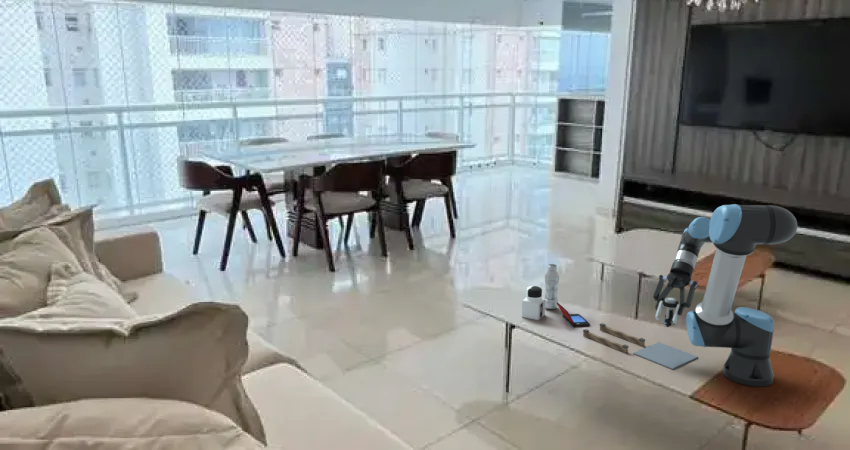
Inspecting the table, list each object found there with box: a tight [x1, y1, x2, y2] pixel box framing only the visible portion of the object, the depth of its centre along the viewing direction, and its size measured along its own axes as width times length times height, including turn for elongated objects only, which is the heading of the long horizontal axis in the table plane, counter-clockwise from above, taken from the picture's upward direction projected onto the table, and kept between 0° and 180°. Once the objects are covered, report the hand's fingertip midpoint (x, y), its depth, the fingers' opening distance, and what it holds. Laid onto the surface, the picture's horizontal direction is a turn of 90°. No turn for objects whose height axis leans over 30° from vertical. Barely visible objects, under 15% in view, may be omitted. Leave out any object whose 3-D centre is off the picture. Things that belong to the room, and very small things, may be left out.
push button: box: [662, 296, 680, 328], centre depth 220 cm, size 7×5×10 cm
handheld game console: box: [556, 301, 591, 328], centre depth 256 cm, size 12×11×7 cm
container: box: [521, 285, 546, 321], centre depth 261 cm, size 8×8×13 cm
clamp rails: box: [582, 322, 646, 354], centre depth 237 cm, size 20×12×3 cm, turn 36°
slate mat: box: [632, 341, 699, 370], centre depth 223 cm, size 16×16×1 cm
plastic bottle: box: [544, 263, 560, 310], centre depth 269 cm, size 6×7×20 cm
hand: (665, 320), depth 217 cm, fingers closed on push button, 5 cm apart
